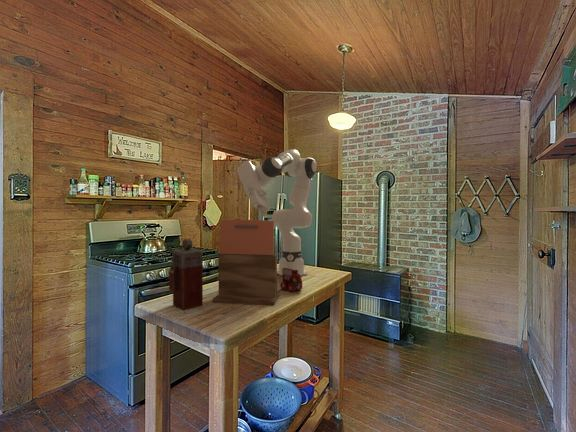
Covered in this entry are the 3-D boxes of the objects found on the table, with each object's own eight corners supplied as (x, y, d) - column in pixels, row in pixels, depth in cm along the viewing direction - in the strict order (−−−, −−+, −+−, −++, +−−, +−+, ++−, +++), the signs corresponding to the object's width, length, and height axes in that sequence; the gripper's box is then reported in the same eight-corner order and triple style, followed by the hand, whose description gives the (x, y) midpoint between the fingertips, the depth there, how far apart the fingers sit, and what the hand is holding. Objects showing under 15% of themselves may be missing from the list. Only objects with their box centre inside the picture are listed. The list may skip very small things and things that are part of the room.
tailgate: (221, 252, 139) (221, 219, 138) (273, 254, 136) (273, 220, 135) (219, 253, 137) (219, 220, 136) (272, 255, 133) (273, 220, 133)
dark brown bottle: (167, 306, 127) (166, 239, 126) (192, 300, 135) (191, 237, 134) (177, 311, 121) (176, 241, 120) (203, 305, 129) (202, 238, 128)
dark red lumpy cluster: (296, 293, 146) (296, 272, 145) (277, 288, 154) (277, 268, 153) (305, 290, 151) (305, 269, 150) (287, 286, 159) (287, 266, 159)
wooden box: (223, 292, 147) (223, 251, 146) (279, 295, 143) (279, 252, 142) (212, 302, 133) (212, 256, 132) (274, 305, 129) (274, 258, 128)
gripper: (253, 183, 139) (265, 210, 136) (266, 193, 159) (276, 216, 156) (241, 189, 140) (252, 216, 137) (255, 198, 160) (265, 222, 157)
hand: (265, 216), depth 147 cm, fingers closed
